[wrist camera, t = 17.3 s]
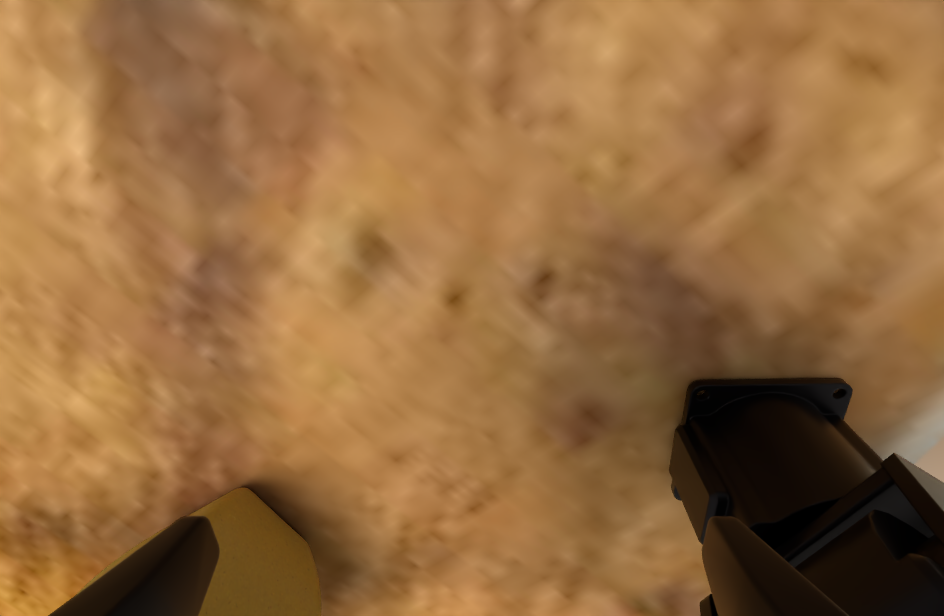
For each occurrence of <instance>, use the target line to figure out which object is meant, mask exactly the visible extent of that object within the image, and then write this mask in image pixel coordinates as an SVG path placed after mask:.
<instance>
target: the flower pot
mask: <svg viewBox="0 0 944 616" xmlns="http://www.w3.org/2000/svg"><path fill="white" fill-rule="evenodd" d="M188 516H206V517H207V518H208V519H209V520H210V522H211V525H212V527H213V530H214V533H215V535H216V538H217V541H218V543H219V548H220V554H219V559H218V562H217V565H216V568H215V571H214V574H213V576H212V579H211V582H210V585H209V588H208V590H207V593H206V596H205V599H204V601H203V604H202V607H201V610H200V613H199V615H198V616H321V592H320V584H319V578H318V574H317V569H316V565H315V562H314V559H313V556H312V553H311V550H310V547H309V545H308V543H307V542H306V541H305V540H304V539H303V538H302V537H301V536H300V535H299V534H298V533H296V532H295V531H294V530H293V529H292V528H291V527H290V526H289V525H288V524H286V523H285V522H284V521H283V520H282V519H281V518H280V517H279V516H278V515H277V514H276V513H275V512H273V511H272V510H271V509H270V508H269V507H268V506H267V505H266V504H265V503H264V502H263V501H262V500H261V499H260V498H259V497H258V496H257V495H255V494H254V493H253V492H252V491H251V490H249V489H248V488H244V487H242V488H237V489H234V490H233V491H231V492H229V493H227V494H225V495H224V496H222V497H220V498H218V499H217V500H215V501H213V502H211V503H210V504H208V505H206V506H204V507H202V508H201V509H199V510H197V511H195V512H194V513H192V514H190V515H188ZM168 527H169V526H168ZM166 528H167V527H166ZM166 528H165V529H166ZM165 529H163V530H165ZM163 530H161V531H159V532H157V533H156V534H154V535H152V536H151V537H149V538H147V539H146V540H144V541H143V542H141V543H139V544H138V545H137V546H135V547H134V548H132V549H131V550H129V551H128V552H126V553H125V554H123V555H122V556H121V557H119V558H118V559H117V560H115V561H114V562H113V563H111V564H110V565H109V566H107V567H106V568H105V569H104V570H102V571H101V572H100V573H99V574H98V575H97V576H95V577H94V578H93V579H92V580H91V581H90V582H89V583H88V584H87V585H85V586H84V587H83V588H82V589H81V590H80V591H79V592H78V593H80V592H81V591H82V590H84V589H85V588H86V587H88V586H89V585H90V584H92V583H93V582H94V581H96V580H97V579H99V578H100V577H101V576H103V575H104V574H105V573H107V572H108V571H109V570H111V569H112V568H113V567H115V566H116V565H117V564H119V563H120V562H122V561H123V560H124V559H126V558H127V557H128V556H130V555H131V554H132V553H134V552H135V551H136V550H138V549H139V548H140V547H142V546H143V545H144V544H146V543H147V542H149V541H150V540H151V539H153V538H154V537H155V536H157V535H158V534H159V533H161V532H162V531H163ZM78 593H77V594H78ZM77 594H76V595H77ZM76 595H75V596H76Z"/></svg>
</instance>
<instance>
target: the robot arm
mask: <svg viewBox="0 0 944 616" xmlns="http://www.w3.org/2000/svg"><path fill="white" fill-rule="evenodd" d="M837 389H839V390H838V391H837V392H836V393H834V391H836V390H837ZM702 390H705V392H704V393H702V394H700V395H697V393H698V392H699V391H702ZM851 396H852V388H851V386H850V385H849V384H847V383H846V382H845V381H844V380H842V379H839V378H811V379H737V380H698V381H695V382H693V383H691V384H690V385H689V387H688V389H687V394H686V400H685V406H684V412H683V418H682V424H680V425H679V426H678V427H677V428H676V430H675V436H674V442H673V449H672V455H671V461H670V467H669V472H670V474H671V477H672V485H671V489H672V492H673V494H674V496H675V498H676V499H678V500H681V501H682V502H683V505H684V507H685V509H686V512H687V514H688V516H689V519H690V521H691V523H692V526H693V528H694V530H695V533H696V535H697V537H698V540H699V542H700V543H701V544H702V545H703V547H702V558H703V563H704V567H705V571H706V574H707V578H708V581H709V585H710V588H711V592H712V594H710V595H709V596H707V597H706V598H705V599H704V600H702V601H701V602H700V612H701V616H944V483H943V482H941V481H940V480H938V479H937V478H935V477H933V476H932V475H930V474H928V473H927V472H925V471H924V470H922V469H920V468H919V467H917V466H915V465H914V464H912V463H911V462H909V461H907V460H906V459H904V458H902V457H901V456H899V455H897V454H896V453H893V454H892V455H891V456H889V457H888V458H887V459H885V460H884V461H883V460H882V459H881V458H880V457H879V456H878V455H877V454H876V453H875V452H874V451H873V450H872V449H871V448H870V447H869V446H868V445H867V444H866V443H865V442H864V441H863V440H862V439H861V438H860V437H859V436H858V435H857V434H856V433H855V432H854V431H853V430H852V429H851V428H850V427H849V426H848V425H847V424H846V423H845V422H844V421H843V419H844V416H845V413H846V410H847V407H848V404H849V401H850V398H851ZM219 554H220V548H219V543H218V541H217V538H216V535H215V533H214V530H213V527H212V525H211V522H210V520H209V519H208V518H207V517H206V516H184V517H182V518H180V519H178V520H177V521H176V522H174V523H173V524H172V525H170V526H169V527H167V528H166V529H165V530H163V531H162V532H161V533H159V534H158V535H157V536H155V537H154V538H153V539H151V540H150V541H149V542H147V543H146V544H144V545H143V546H142V547H140V548H139V549H138V550H136V551H135V552H134V553H132V554H131V555H130V556H128V557H127V558H126V559H124V560H123V561H122V562H120V563H119V564H117V565H116V566H115V567H113V568H112V569H111V570H109V571H108V572H107V573H105V574H104V575H103V576H101V577H100V578H99V579H97V580H96V581H94V582H93V583H92V584H90V585H89V586H88V587H86V588H85V589H84V590H82V591H81V592H80V593H78V594H77V595H76V596H74V597H73V598H71V599H70V600H69V601H67V602H66V603H65V604H63V605H62V606H61V607H59V608H58V609H57V610H55V611H54V612H53V613H51V614H50V615H48V616H198V615H199V613H200V610H201V607H202V604H203V601H204V599H205V596H206V593H207V590H208V588H209V585H210V582H211V579H212V576H213V574H214V571H215V568H216V565H217V562H218V559H219Z"/></svg>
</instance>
